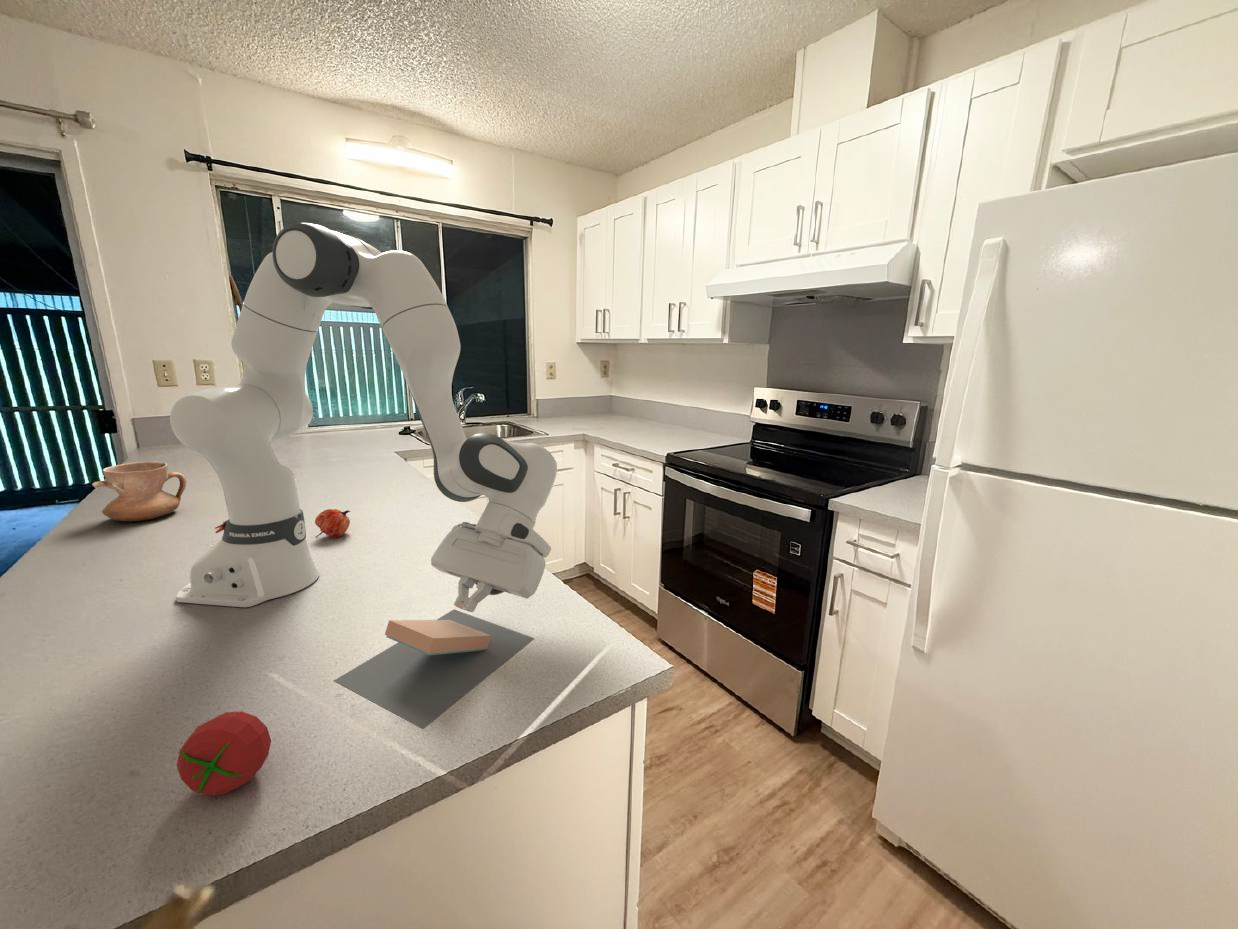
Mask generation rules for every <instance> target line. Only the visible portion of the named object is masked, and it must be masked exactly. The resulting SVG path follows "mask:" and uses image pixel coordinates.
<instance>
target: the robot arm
mask: <svg viewBox="0 0 1238 929" xmlns="http://www.w3.org/2000/svg"><path fill="white" fill-rule="evenodd" d="M272 245H273V246H272V252H269V253H268V254H267V255H266V256H265V257H264V258H263V260H262V262H261V263H260V265H259V266H258V267H257V270H256V272H255V273H254V276H253V277H252V280H251V281H250V284H249V286H248V289H247V291H246V293H245V294H246V295H245V297H244V299H243V303H242V306H241V309H240V312H239V316H238V319H237V322H236V324H235V325H236V327H235V329H234V333H233V335H232V338H231V348H232V351H233V352H234V354H235V355H236V357H237V358H238V359H240V360H241V361H242V366H243V368H242V369H243V371H242V372H243V373H242V374H243V375H242V380H241V381H240V382H239V383H238V384H237V385H228V386H219V387H218V386H217V387H216V386H215V387H209V388H208V387H207V388H205V389H202V390H199V391H195V392H193V393H191V394H189V395H185V396H183V397H181V398H179V399H178V400H177V401H176V402H175V403H174V404H173V406H172V408H171V410H170V415H169V422H170V427H171V430H172V432H173V434H174V436H175V438H177V440H179V442H180V443H181V444H182V445H184V446H185V447H187V448H188V449H190V450H192V451H193V452H197V453H198V454H200V455H201V456H202V457H203V458H204V459H206V461H207V462H208V463H209V464H210V466H211V467H212V469H213V470H214V472H215V474H216V475H217V477H218V479H219V482H220V485H221V488H222V491H223V496H224V500H225V505H226V511H227V514H228V519H227V520H225V521H223V522H222V524H220V525H217V526H216V527H214V530H216V531H215V532H214V533H215V534H218V533H220V532H222V531H223V534H222V538H221V540H220V541H219V542H217V543H216V544H215V545H213V546H212V547H211V548H210V549H208V550H207V551H205V553H203V554H202V555H201V556H199V558H197V559H196V560H195V561H194V562H193V564H192V566H191V570H190V577H189V579H190V582H188V583H186V585H184V586H183V587H182V588H181V589H180V590H179V591H177V593H176V596H175V597H176V598H175V600H176V602H177V603H184V604H185V603H186V604H197V605H209V606H210V605H211V606H221V607H222V606H223V607H224V606H225V607H235V608H236V607H237V608H249V607H253V606H256V605H258V604H261V603H264V602H266V601H269V600H272V599H276V598H280V597H285V596H287V595H290V594H293V593H296V592H299V591H300V590H303V589H305V588H307V587H309V586H310V585H312V584H313V583H315V582H316V581H317V579H318V578H319V575H320V572H319V570H318V569H317V567H316V565H315V562H314V561H313V558H312V555H311V553H310V550H309V547H308V543H307V530H306V523H305V517H304V512H303V510H302V509H301V506H300V499H299V492H298V486H297V485H298V484H297V480H296V475H295V472H294V471H293V470H292V469H291V468H289V467H288V466H286V465H283V464H281V463H280V462H279V460H278V459H277V457H276V454H275V453H274V451H273V448H272V445H271V444H272V442H275V441H279V440H282V439H286V438H290V437H291V436H293V435H295V434H297V433H299V432H300V431H302V430H303V429H305V428H306V427H307V426H308V425H309V424H310V423H311V421H312V419H313V415H314V409H313V404H312V401H311V399H310V397H309V396H308V395H307V393H306V388H305V387H306V382H305V381H306V370H307V365H308V363H309V362H308V361H309V359H310V355H311V353H312V349H313V347H314V343H315V340H316V338H317V335H318V332H319V329H320V325H321V322H322V319H323V316H324V313H325V312H326V310H327V308H328V307H329V306H330V305H332V304H337V305H342V306H350V307H355V308H361V309H366V310H373V311H374V313H375V315H376V317H377V321H378V322H379V325H380V326H381V328H382V331H383V333H384V335H385V338H386V340H387V342H388V344H389V346H390V349H391V350H392V353H393V355H394V357H395V359H396V361H397V363H398V365H399V368H400V370H401V372H402V375H403V377H404V380H405V382H406V384H407V386H408V388H409V391H410V394H411V396H412V400H413V402H414V406H415V408H416V411H417V413H418V417H419V418H420V422H421V424H422V427H423V429H424V431H425V432H424V433H425V434H426V436H427V439H428V442H429V445H430V447H431V451H432V455H433V478H434V483H435V485H436V487H437V489H438V490H439V491H440V492H441V494H442V495H444V497H446V498H447V499H449V500H452V501H455V502H459V503H468V502H472V501H474V500H477V499H478V498H480V497H481V496H485V497H486V498H487V499H488V503H487V504H486V507H485V508H484V510H483V512H482V513H481V515H480V517H479V519H478V521H477V523H476V524H475V523H470V522H469V521H468V522H467V521H463V522H461V523H458V524H456V525H454V526H453V527H452V528H451V530H450V531H449V533H447V534H446V536H445V537H444V538H443V540H442V541H441V542H440V544H439V545H438V546H437V548H436V550H435V551H434V553H433V555H432V556H431V559H430V564H431V566H432V567H433V568H435V569H436V570H437V571H439V572H442V573H444V574H447V575H451V576H454V577H457V578H460V579H459V581H458V587H457V590H458V592H457V594H458V595H457V597H456V599H455V600H454V603H453V605H454V606H455V607H456V608H458V609H460V610H463V611H467V612H469V613H475V610H476V609H477V606H478V604H479V603H481V602H482V601H483V600H484V599H485V598H487V597H488V596H489V595H491V594H490V592H491V590H492V588H494V589H498V590H501V591H504V592H503V593H508V594H510V595H514V596H517V597H521V598H524V599H530V598H531V597H532V596H533V595H535V593H536V591H537V590H538V587H539V586H540V583H541V580H542V578H543V576H544V572H545V569H546V560H545V558H547V557H548V556H549V555H550V553H551V551H552V547H551V545H550V544H549V543H548V541H546V540H545V539H544V537H542V536H541V535H540V534H539V533H538V532H536V531H535V530H534V528H535V525H536V521H537V517H538V514H539V512H540V511H541V509H543V507H544V506H545V505H546V502H547V501H548V499H549V496H550V493H551V491H552V489H553V486H554V483H555V480H556V477H557V474H558V464H557V461H556V458H555V457H554V456H553V455H552V453H551V452H550V451H549V450H548V449H546V448H545V447H543V446H542V445H540V444H538V443H534V442H526V443H525V442H524V443H522V442H521V443H520V442H513V441H510V440H507V439H506V440H505V439H503V438H502V437H500V436H498V435H496V434H493V433H489V432H480V433H475V434H473V435H471V436H469V437H466V436H467V435H466V433H465V430H464V429H463V426H462V423H461V420H460V416H459V414H458V412H457V409H456V406H455V403H454V400H453V395H452V385H453V378H454V374H455V369H456V366H457V363H458V360H459V357H460V353H461V346H462V345H461V340H460V336H459V332H458V328H457V325H456V323H455V320H454V316H453V315H452V312H451V311H450V309H449V306H448V304H447V301H446V300H445V297H444V296H443V293H442V292H441V290H440V288H439V286H438V284H437V283H436V281H435V280H434V278H433V276H432V275H431V274H430V272H429V271H428V269H427V268H426V266H425V264H424V263H423V262H422V260H421V259H419V258H418V256H416V255H414V254H413V253H411V252H408V251H404V250H388V251H383V250H382V249H380V248H376V247H374V246H373V245H371V244H369V243H367V242H365V241H364V240H362V239H359V238H357V237H354V236H353V235H347V234H343V233H340V232H338V231H335V230H331V229H329V228H327V227H325V226H323V225H320V224H314V223H311V222H310V223H309V222H295V223H290V224H288V225H286V226H284V227H282V229H281V230H280V231H279V232H278V234H277V235H276V237H275V239H274V241H273V244H272ZM475 583H478V584H475ZM475 585H476V587H475V588H476V590H475V591H474V592H473V593H472V594H471V595H470V596H469V594H470V589H474V586H475Z"/></svg>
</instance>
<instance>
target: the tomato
mask: <svg viewBox="0 0 1238 929" xmlns="http://www.w3.org/2000/svg"><path fill="white" fill-rule="evenodd" d="M271 744H272V739H271V736H270V733H269V730H268V726H267V725H265V723H263V721H262V720H260V718H259V717H258V716H256V715H253V714H250V713H247V712H245V711H227V712H226V711H225V712H224V713H222V714H220V715H218V716H216V717H213V718H212V719H210V720H208V721H206V722H204V723H202V724H200V725H198V726H197V727H196V728H195V729H194V730H193V732H192V733H191V734H190V736H188V738H187V739H186V740H185V741H184V744H183V745H182V746H181V748H180V750H179V753H178V758H177V763H176V767H177V770H178V774H179V777H180V780H181V781H182V782H183V783H184V784H185V785H186V786H187V787H188V788H189V789H190V790H191V791H192V792H195V793H198V794H202V795H205V796H207V797H208V796H209V797H210V796H220V795H221V796H222V795H226V794H228V793H230V792H232V791H233V790H236V789H238V788H239V787H241V786H242V785H245V784H246V783H248V782H250V781H251V780H252V779H253V778H254V777H255V775H256V774H257V773H258V772H259V771H260V769H261V768H262V766H263V765H264V763H265V761H266V760H267V759H268V757H269V753H270V749H271Z"/></svg>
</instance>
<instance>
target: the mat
mask: <svg viewBox="0 0 1238 929" xmlns="http://www.w3.org/2000/svg"><path fill="white" fill-rule="evenodd" d="M436 620H451V621H454V622H456V623H459V624H462V625H464V626H467V627H470V628H472V629H475V630H478V631H480V632H483V633H486V634H488V635H491V637H490V640H489V644H488V648H487V649H485V650H482V651H471V652H460V653H449V654H438V655H426V654H424V653H422V652H419V651H417V650H415V649H413V648H410V647H408V646H406V645H403V644H401V643H399V642H396V643H395V644H393V645H391V646H390V647H388V648H386V649H385V650H383V651H381V652H379V653H378V654H376V655H374V656H373V657H371V658H369V659H368V660H365V661H364V662H362V663H361V664H359V665H357V666H356V667H354V668H353V669H350V670H349V671H348V672H345V673H344V674H342V675H340V676H339V677H337V678H335V679H334V680H333V682H334V683H337V684H338V685H340V686H342V687H344V688H346V689H347V690H350V691H352V692H354V693H355V694H358V696H359V695H360V696H361V697H363V698H364V699H366V700H369V701H370V702H372V703H373V704H376V705H378V706H379V707H381V708H383V709H386V710H387V711H388V712H391V713H392V714H394V715H396V716H398V717H400V718H402V719H403V720H406V721H407V722H409V723H411V724H412V725H415V726H416V727H418V728H420V729H423V730H424V729H425V728H427V727H428V726H429V725H430V724H431V723H433V722H434V721H435V720H436V719H437V718H439V717H440V716H441V715H442V714H444V712H446V711H447V710H449V709H450V708H451V707H453V705H455V704H456V703H457V702H458V701H460V700H461V699H462V698H463V697H465V696H466V695H467V694H468V693H470V692H471V691H472V690H473V689H474V688H476V687H477V686H479V684H480V683H483V681H485V680H486V679H487V678H488V677H489V676H490V675H491V674H493V673H494V672H495V671H496V670H498V669H499V668H500V667H501V666H503V665H504V664H505V663H506V662H508V661H509V660H510V659H512V658H513V657H514V656H516V654H518V653H519V652H520V651H521V650H522V649H524V648H525V647H527V645H529V644H530V643H531V642H533V641H534V640H535V637H532V636H529V635H526V634H524V633H521V632H518V631H515V630H513V629H511V628H507V627H504V626H502V625H498V624H497V623H493V622H490V621H487V620H485V619H482V618H480V617H477V616H474V615H471V614H468V613H465V612H463V611H460V610H456V609H452V610H451V611H449V612H447V613H445V614H444V615H442V616H440V617H439V618H437V619H436Z"/></svg>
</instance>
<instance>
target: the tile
mask: <svg viewBox="0 0 1238 929" xmlns="http://www.w3.org/2000/svg"><path fill="white" fill-rule="evenodd" d="M384 636H386V638H387V639H390V640H392V641H395V642H396V643H398V642H399V643H401V644H403V645H406V646H408V647H410V648H413V649H415V650H417V651H419V652H422V653H424V654H426V655H438V654H449V653H460V652H471V651H482V650H485V649H487V648H488V644H489V640H490V637H491V635H488V634H486V633H483V632H480V631H478V630H475V629H472V628H470V627H467V626H464V625H462V624H459V623H456V622H454V621H451V620H437V619H398V620H397V619H396V620H395V619H390V620H388V623H387V626H386V630H385V632H384Z"/></svg>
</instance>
